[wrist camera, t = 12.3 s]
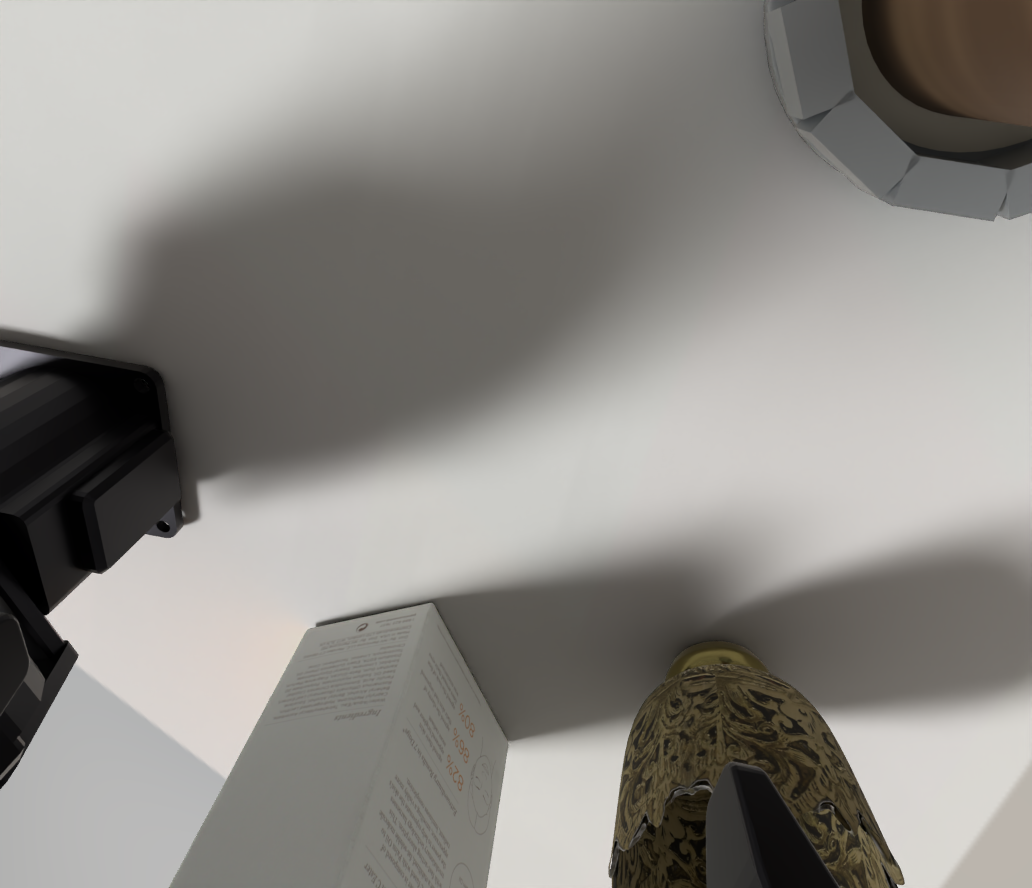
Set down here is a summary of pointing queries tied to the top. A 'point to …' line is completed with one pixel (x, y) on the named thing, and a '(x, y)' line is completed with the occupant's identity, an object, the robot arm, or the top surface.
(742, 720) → the ornate scalloped vase
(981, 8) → the brown cylinder
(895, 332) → the top surface
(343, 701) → the small box
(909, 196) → the ring
